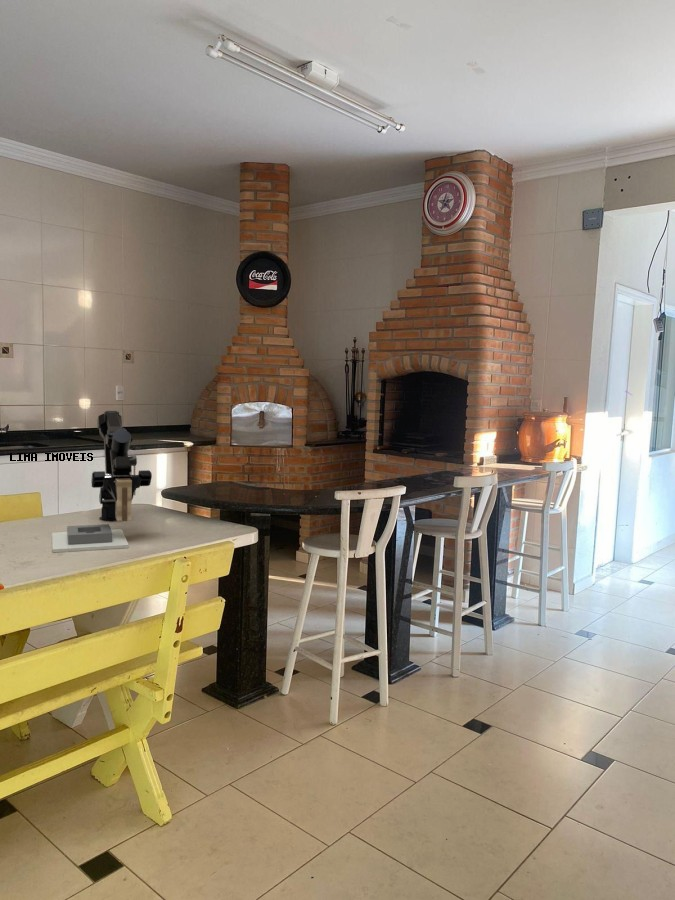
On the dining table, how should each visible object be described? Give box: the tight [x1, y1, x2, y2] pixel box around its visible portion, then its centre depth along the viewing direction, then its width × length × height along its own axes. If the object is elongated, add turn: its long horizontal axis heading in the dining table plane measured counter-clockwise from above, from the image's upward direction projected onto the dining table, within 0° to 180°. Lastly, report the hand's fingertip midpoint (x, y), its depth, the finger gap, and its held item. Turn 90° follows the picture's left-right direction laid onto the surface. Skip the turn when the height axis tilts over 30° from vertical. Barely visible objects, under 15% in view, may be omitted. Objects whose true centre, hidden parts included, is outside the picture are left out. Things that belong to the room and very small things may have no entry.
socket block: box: [51, 523, 129, 553], centre depth 219 cm, size 22×22×4 cm
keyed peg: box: [115, 478, 133, 522], centre depth 222 cm, size 6×4×13 cm
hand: (124, 499), depth 221 cm, fingers closed on keyed peg, 4 cm apart
